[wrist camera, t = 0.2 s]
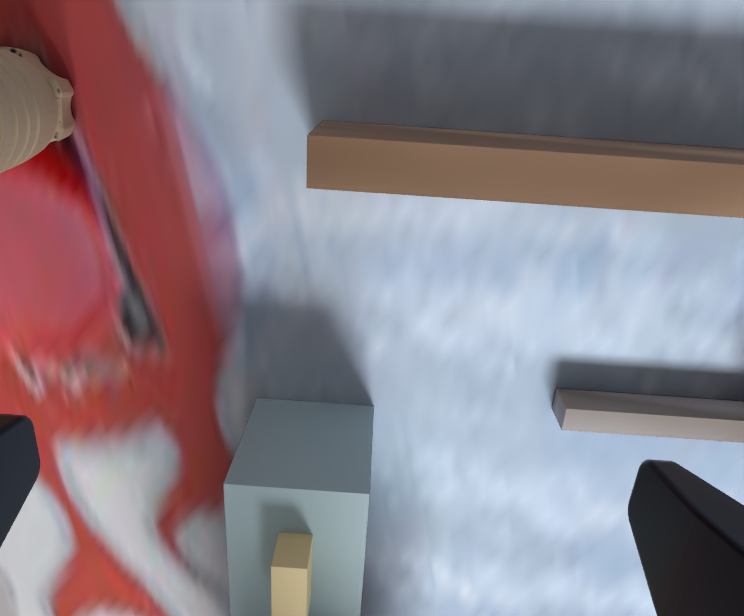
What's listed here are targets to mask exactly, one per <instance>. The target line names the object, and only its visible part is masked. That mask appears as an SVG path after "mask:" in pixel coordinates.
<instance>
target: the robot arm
mask: <svg viewBox="0 0 744 616" xmlns="http://www.w3.org/2000/svg"><path fill="white" fill-rule="evenodd" d="M39 470H40V458H39V453H38V447H37V442H36V437H35V432H34V427H33V423H32V421H31V420H30V418H28V417H27V416H25V415H13V414H0V547H1V545H2V543H3V541H4V540H5V538H6V536H7V534H8V532H9V530H10V528H11V526H12V525H13V523H14V521H15V519H16V517H17V515H18V513H19V511H20V509H21V508H22V506H23V504H24V502H25V500H26V498H27V496H28V494H29V492H30V491H31V489H32V487H33V485H34V483H35V481H36V479H37V477H38V474H39ZM628 517H629V522H630V525H631V529H632V532H633V536H634V539H635V543H636V546H637V549H638V553H639V556H640V560H641V563H642V567H643V570H644V573H645V577H646V580H647V584H648V587H649V591H650V594H651V597H652V601H653V604H654V607H655V610H656V613H657V616H744V505H742V504H741V503H739V502H737V501H736V500H734V499H733V498H731V497H729V496H728V495H726V494H725V493H723V492H721V491H720V490H718V489H717V488H715V487H714V486H712V485H710V484H709V483H707V482H706V481H704V480H702V479H701V478H699V477H698V476H696V475H694V474H693V473H691V472H690V471H688V470H687V469H685V468H683V467H682V466H680V465H679V464H677V463H675V462H672V461H663V460H645V461H644V462H642V464H641V465H640V467H639V470H638V473H637V477H636V480H635V483H634V487H633V490H632V493H631V497H630V500H629V504H628Z"/></svg>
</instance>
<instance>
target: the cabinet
mask: <svg viewBox="0 0 744 616" xmlns="http://www.w3.org/2000/svg"><path fill="white" fill-rule="evenodd" d="M373 414H374V406H368V405H353V404H339V403H325V402H310V401H296V400H282V399H267V398H257V399H256V402H255V404H254V407H253V409H252V412H251V414H250V417H249V420H248V422H247V425H246V427H245V430H244V432H243V435H242V437H241V440H240V443H239V445H238V448H237V450H236V453H235V455H234V458H233V461H232V463H231V466H230V468H229V471H228V473H227V476H226V478H225V481H224V484H223V487H224V506H225V525H226V544H227V563H228V582H229V601H230V616H360V613H361V600H362V587H363V574H364V561H365V548H366V535H367V522H368V509H369V496H370V476H371V455H372V435H373Z"/></svg>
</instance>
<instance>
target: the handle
mask: <svg viewBox="0 0 744 616" xmlns="http://www.w3.org/2000/svg"><path fill="white" fill-rule="evenodd" d="M73 94H74V91H73V88H72V86H71V84H70V83H69V81H68V80H67V79H64V78H61V77H59V76H57V75H55V74H53V73H52V72H50V71H49V70H48V69H47V68H46V67H44V66H43V65H42V63H41V62H40V59H39V58H38V57H37V55H35V54H33V53H31V52H28V51H25V50H22V49H18V48H12V47H3V46H1V47H0V173H2V172H4V171H6V170H9V169H11V168H13V167H15V166H18V165H20V164H21V163H23V162H25V161H27V160H29V159H31V158H32V157H33V156H35V155H36V154H38V153H39V152H41V151H42V150H44V149H45V147H46V146H47V145H48V144H49V143H50V142H53V141H59V140H62V139H64V138H66V137H68V136H69V135H71V134H72V132H73V130H74V128H75V125H76V123H75V120H74V119H73V116H72V113H71V98H72V96H73Z"/></svg>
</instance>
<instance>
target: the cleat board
mask: <svg viewBox="0 0 744 616" xmlns="http://www.w3.org/2000/svg"><path fill="white" fill-rule="evenodd" d="M307 188H314V189H328V190H343V191H358V192H372V193H387V194H401V195H416V196H431V197H445V198H460V199H475V200H489V201H504V202H519V203H533V204H548V205H562V206H577V207H592V208H606V209H621V210H636V211H650V212H665V213H680V214H694V215H709V216H723V217H738V218H744V149H734V148H720V147H705V146H690V145H675V144H661V143H646V142H631V141H616V140H602V139H587V138H572V137H558V136H543V135H528V134H513V133H499V132H484V131H469V130H455V129H440V128H425V127H410V126H396V125H381V124H366V123H352V122H337V121H322V122H321V123H320V124H319V125H318V126H316V127H315V128H314V129H313V130H312V131H311V132H310V133H309V134H308V135H307ZM552 410H553V412H554V414H555V416H556V419H557V421H558V423H559V425H560V427H561V430H569V431H584V432H598V433H612V434H627V435H641V436H656V437H670V438H684V439H699V440H713V441H727V442H742V443H744V401H729V400H715V399H700V398H686V397H671V396H657V395H643V394H628V393H614V392H599V391H585V390H571V389H556V393H555V398H554V402H553V407H552Z"/></svg>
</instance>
